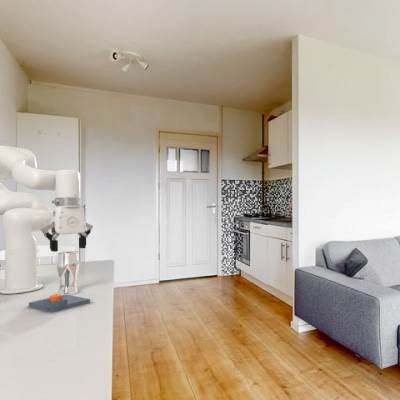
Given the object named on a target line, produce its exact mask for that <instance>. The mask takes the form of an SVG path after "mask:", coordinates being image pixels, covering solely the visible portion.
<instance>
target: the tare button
mask: <svg viewBox="0 0 400 400" xmlns="http://www.w3.org/2000/svg"><path fill="white" fill-rule="evenodd" d="M49 298H50V302H55V301H60V300H62V295H61V294H58V293H57V294H52V295H49Z"/></svg>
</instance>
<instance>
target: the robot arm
mask: <svg viewBox="0 0 400 400" xmlns="http://www.w3.org/2000/svg"><path fill="white" fill-rule="evenodd" d="M10 179H11V180H12V179H13V180H14V181H15V182H16V183H17V184H19V185H21V186H23V187H25V188H27V189H30V190H33V191H34V190H35V191H54V192H55V198H54V199H52V200H51V204H54V205H55V206H54V207H53V209H52V208H51V207H50V206H49V205H48V204H46V202H45V201H43V199H42V198H40V197H39V196H38V195H36V194H34V193H32V192H25V191H14V190H13V191H12V190H10V189H9V188H7V187H6V186H5V185H4V184H3V183H2V182H0V216H1V225H2V230H3V235H4V253H5V254H4V258H5V259H4V260H5V261H4V267H5V269H4V287H2V288H0V294H2V295H3V294H4V295H13V294H22V293H29V292H33V291H37V290H40V289H42V288H43V284H42V283H38V243H37V239H36V237H35V236H34V234H33V233H35V232H36V233H37V232H42V234H43V236H44V238H46V239H47V240H48V241H49V249H50V252H55V253H56V252H57V253H58V251H59V240H58V237H60V235H74V234H75V235H76V234H77V235H78V236H79V238H78V248H79V249H86V247H87V238H88V236H89V235H90V234H91V232H92V229H93V227H94V226H93V225H92V224H90V223H88V222H87V221H86V214H85V211H84V207H83V206H81V173H80V171H79V170H76V169H58V170H52V169H42V168H38V163H37V158H36V155H35V153H34V152H33V151H31V150H30V149H28V148H23V147H17V146H11V145H9V146H8V145H0V180H10ZM49 230H50V231H51V233H50V232H49Z"/></svg>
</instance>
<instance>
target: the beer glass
mask: <svg viewBox="0 0 400 400" xmlns="http://www.w3.org/2000/svg"><path fill="white" fill-rule="evenodd" d="M55 262H56V264H55V265H56V273H57V278H58V291H57V294H61V295H65V294H66V295H75V294H77V293H78V292H79V290H78V289H79V288H78V285H77V284H78V283H77V281H78V277H79V276H78V275H79V271H80V253H79V250H71V251H70V250H69V251H60V252H57V253H56V261H55Z"/></svg>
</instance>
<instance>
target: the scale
mask: <svg viewBox="0 0 400 400" xmlns="http://www.w3.org/2000/svg"><path fill="white" fill-rule="evenodd" d="M87 304H91V299H90V298H86V297H81V296H76V295H72V294H70V295H66V294H65V295H62V300H60V301H55V302H50V297H48V298H47V297H46V298H43V299H39V300H38V299H37V300H34V301H29V302H28V307H29V308H31V309H37V310H41V311H45V312H49V313H57V312H61V311H64V310H68V309H72V308H76V307H80V306H84V305H87Z"/></svg>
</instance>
